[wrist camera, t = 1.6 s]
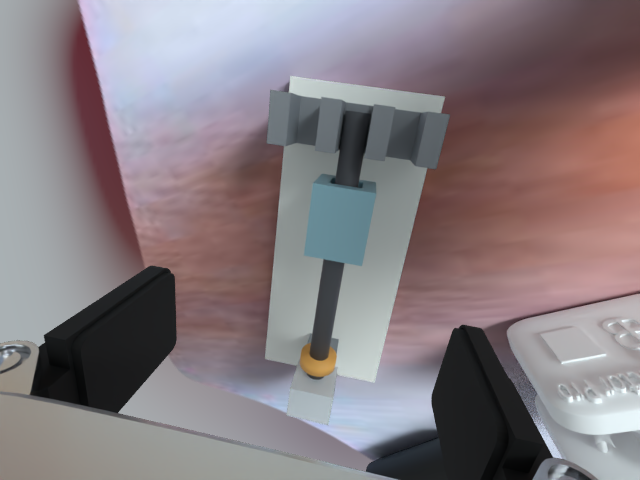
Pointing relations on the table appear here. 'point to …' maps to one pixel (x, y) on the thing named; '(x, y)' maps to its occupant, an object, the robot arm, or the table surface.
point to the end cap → (412, 463)
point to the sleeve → (339, 220)
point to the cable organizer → (587, 382)
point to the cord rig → (383, 238)
